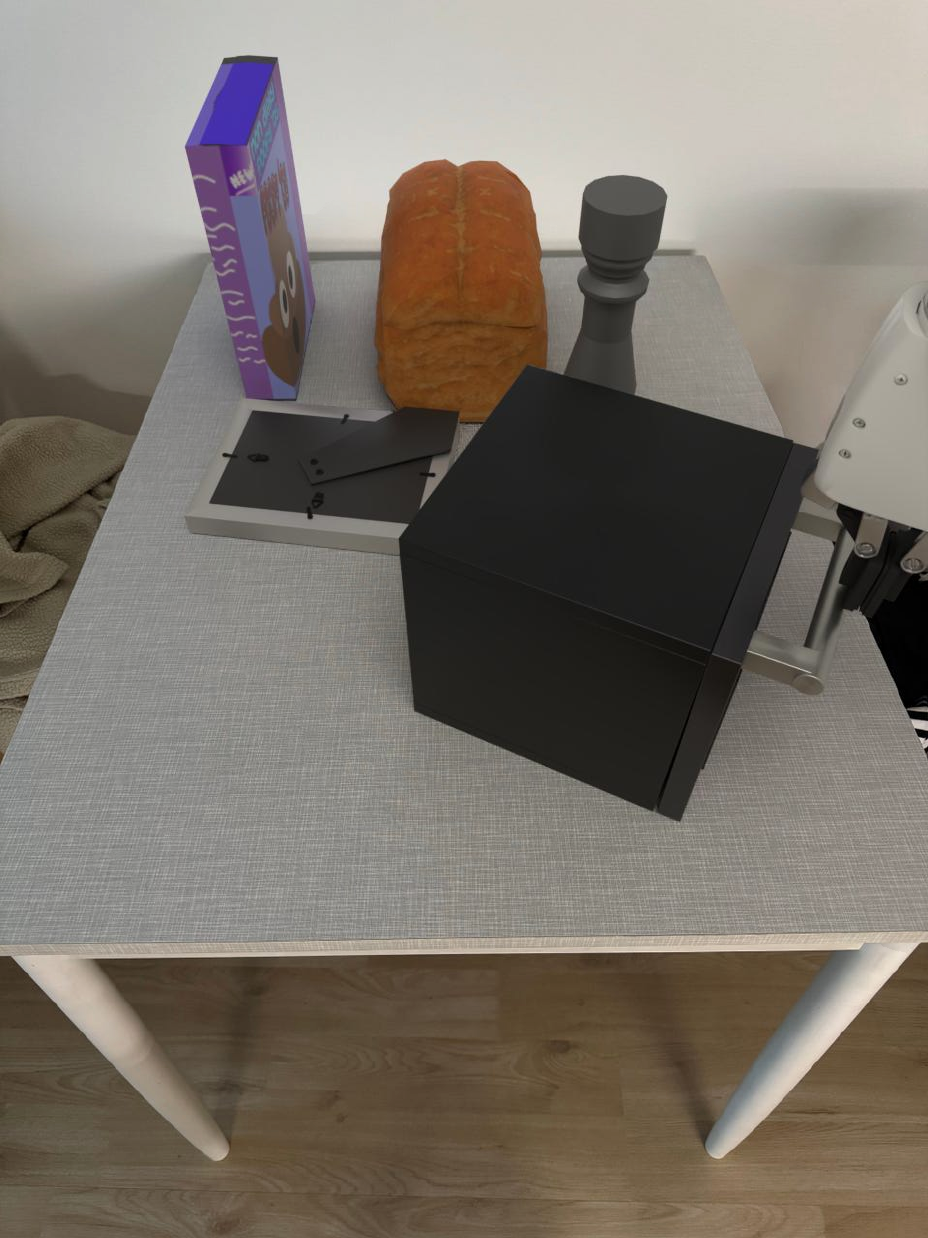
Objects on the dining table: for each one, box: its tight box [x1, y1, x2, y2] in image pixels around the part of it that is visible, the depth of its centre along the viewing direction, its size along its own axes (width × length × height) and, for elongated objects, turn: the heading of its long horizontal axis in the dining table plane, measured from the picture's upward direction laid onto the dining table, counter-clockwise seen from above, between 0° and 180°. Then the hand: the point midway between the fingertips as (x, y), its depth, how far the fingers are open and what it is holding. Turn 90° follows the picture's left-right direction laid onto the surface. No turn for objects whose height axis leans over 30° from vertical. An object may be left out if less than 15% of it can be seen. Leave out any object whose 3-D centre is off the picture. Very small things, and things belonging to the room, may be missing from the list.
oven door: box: [656, 442, 855, 822], centre depth 55 cm, size 6×18×18 cm, turn 154°
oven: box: [399, 364, 795, 812], centre depth 58 cm, size 18×18×18 cm
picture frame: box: [183, 397, 461, 556], centre depth 77 cm, size 16×3×21 cm
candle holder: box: [562, 174, 668, 395], centre depth 69 cm, size 6×6×25 cm
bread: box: [373, 158, 549, 423], centre depth 85 cm, size 16×27×16 cm, turn 1°
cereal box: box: [184, 54, 316, 402], centre depth 81 cm, size 17×5×24 cm, turn 0°
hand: (861, 595), depth 49 cm, fingers closed
